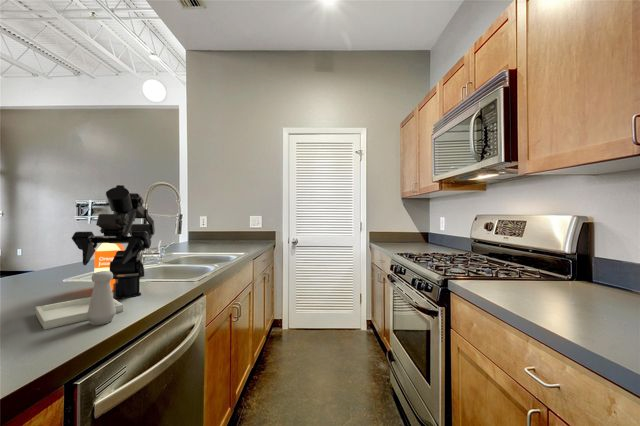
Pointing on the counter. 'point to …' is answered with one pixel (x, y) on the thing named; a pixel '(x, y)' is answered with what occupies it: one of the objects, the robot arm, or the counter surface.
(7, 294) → the counter surface
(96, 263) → the orange juice
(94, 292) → the salt shaker
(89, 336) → the counter surface
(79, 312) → the tray
